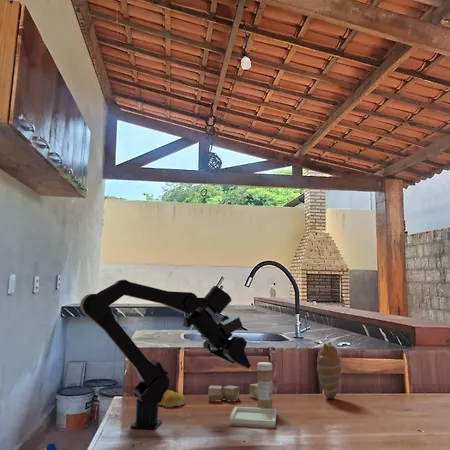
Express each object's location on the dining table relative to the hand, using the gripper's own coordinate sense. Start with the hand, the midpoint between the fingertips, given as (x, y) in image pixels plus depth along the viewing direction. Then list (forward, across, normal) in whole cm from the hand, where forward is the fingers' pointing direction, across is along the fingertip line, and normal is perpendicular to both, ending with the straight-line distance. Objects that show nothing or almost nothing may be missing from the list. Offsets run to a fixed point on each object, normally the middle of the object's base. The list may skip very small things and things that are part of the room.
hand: (241, 364), depth 119 cm
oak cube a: (+9, +17, +10) cm, 22 cm away
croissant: (+34, +3, -15) cm, 38 cm away
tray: (+10, -7, +9) cm, 15 cm away
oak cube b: (+12, +15, +7) cm, 21 cm away
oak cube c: (+19, +14, 0) cm, 24 cm away
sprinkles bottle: (+15, 0, +4) cm, 16 cm away
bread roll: (-1, +18, +21) cm, 28 cm away
